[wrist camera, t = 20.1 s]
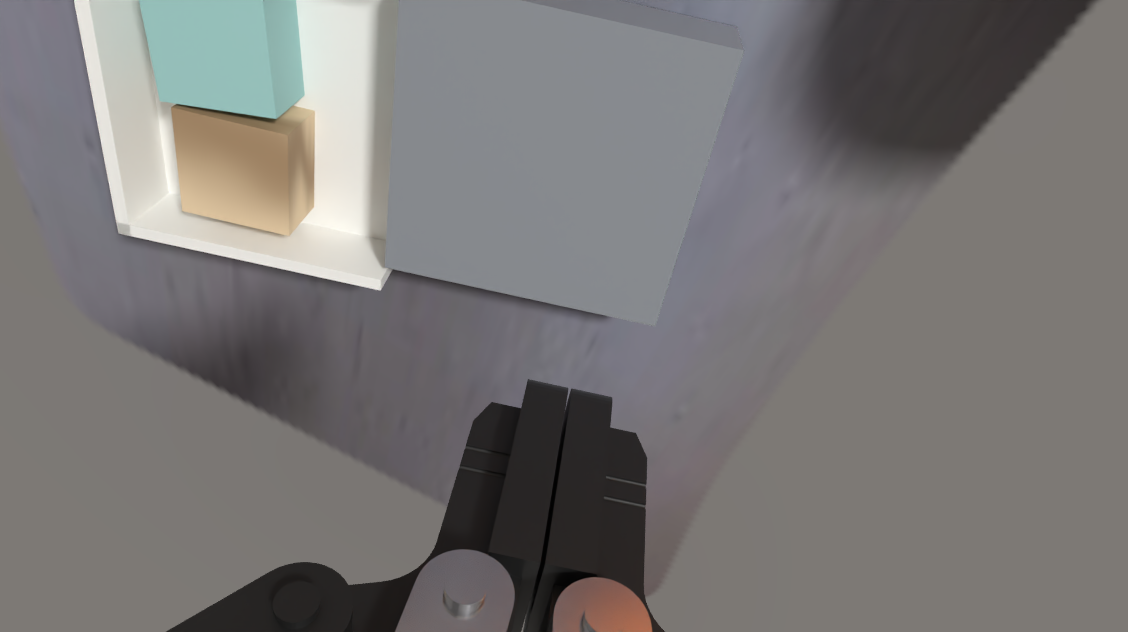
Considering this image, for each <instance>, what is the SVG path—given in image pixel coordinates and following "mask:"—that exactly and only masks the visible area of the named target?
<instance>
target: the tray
mask: <svg viewBox="0 0 1128 632" xmlns="http://www.w3.org/2000/svg"><path fill="white" fill-rule="evenodd" d="M74 3H75V8H76V13H77V19H78V24H79V29H80V34H81V40H82V45H83V50H84V55H85V60H86V66H87V71H88V76H89V81H90V87H91V92H92V97H93V102H94V108H95V113H96V118H97V123H98V129H99V134H100V139H101V144H102V150H103V155H104V160H105V165H106V171H107V176H108V181H109V186H110V191H111V197H112V202H113V207H114V212H115V218H116V223H117V228H118V233H119V234H123V235H128V236H132V237H137V238H142V239H146V240H151V241H155V242H160V243H165V244H169V245H174V246H178V247H183V248H188V249H192V250H197V251H201V252H206V253H211V254H215V255H220V256H224V257H229V258H233V259H238V260H243V261H247V262H252V263H256V264H261V265H266V266H270V267H275V268H279V269H284V270H289V271H293V272H298V273H302V274H307V275H312V276H316V277H321V278H325V279H330V280H334V281H339V282H344V283H348V284H353V285H357V286H362V287H367V288H371V289H376V290H380V291H381V289H382V287H383V285H384V284H385V282H386V280H387V278H388V277H389V275H390V273H391V271H392V270H393V269H390V268H385V252H386V233H387V214H388V195H389V176H390V157H391V138H392V119H393V99H394V80H395V61H396V42H397V23H398V4H399V0H296V5H297V16H298V27H299V38H300V49H301V60H302V71H303V81H304V92H305V96H303V97H302V98H301V99H300V100H299V101H297V102H296V103H295V104H294V105H293V106H297V107H301V108H305V109H310V110H314V111H315V165H314V208H313V209H312V210H311V211H310V212H309V214H308V215H307V216H306V217H305V218H304V219H303V221H302V222H301V223H300V224H299V225H298V226H297V228H296V229H295V230H294V231H293V232H292V234H291V235H290V236H287V235H282V234H278V233H274V232H270V231H265V230H261V229H257V228H253V227H248V226H244V225H240V224H235V223H231V222H227V221H223V220H218V219H214V218H210V217H206V216H201V215H197V214H193V213H188V212H184V211H182V204H181V195H180V186H179V177H178V168H177V159H176V150H175V141H174V132H173V123H172V114H171V107H172V106H174V105H176V104H175V103H168V102H162V101H160V100H159V95H158V90H157V85H156V80H155V75H154V71H153V66H152V61H151V56H150V51H149V46H148V42H147V37H146V32H145V27H144V22H143V18H142V13H141V8H140V3H139V0H74Z"/></svg>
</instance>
